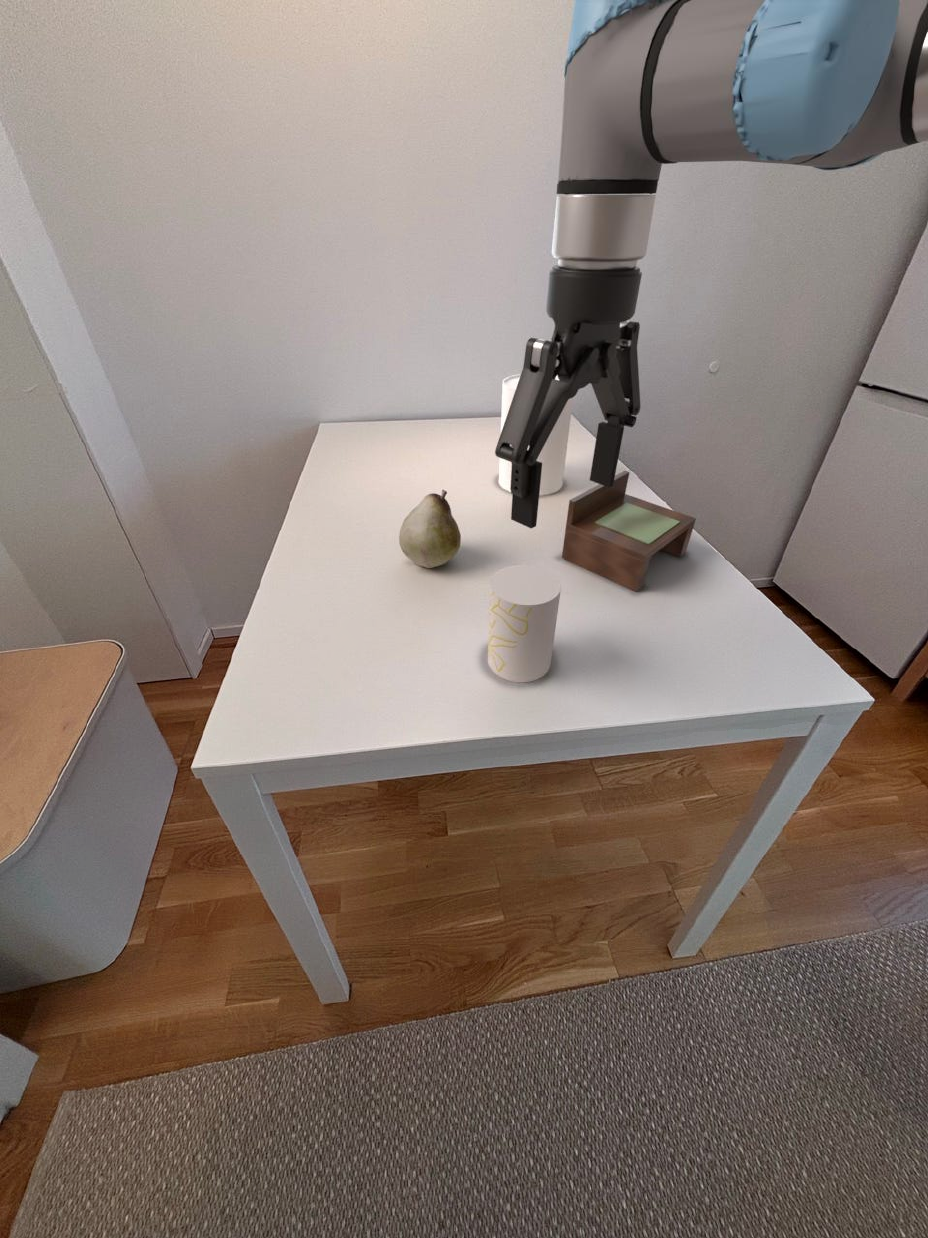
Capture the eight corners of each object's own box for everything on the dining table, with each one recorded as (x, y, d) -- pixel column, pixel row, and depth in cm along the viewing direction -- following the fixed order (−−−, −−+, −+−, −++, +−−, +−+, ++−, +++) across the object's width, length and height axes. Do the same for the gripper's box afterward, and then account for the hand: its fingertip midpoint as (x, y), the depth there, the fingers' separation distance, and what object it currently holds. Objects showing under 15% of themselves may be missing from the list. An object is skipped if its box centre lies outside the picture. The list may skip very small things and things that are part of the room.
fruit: (472, 560, 86) (472, 493, 78) (432, 584, 80) (428, 514, 73) (428, 539, 91) (425, 475, 84) (388, 561, 86) (381, 493, 78)
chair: (685, 552, 87) (703, 495, 81) (636, 592, 79) (651, 531, 72) (613, 525, 95) (624, 470, 88) (561, 558, 86) (569, 499, 80)
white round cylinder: (476, 651, 68) (477, 575, 61) (527, 632, 71) (534, 558, 64) (509, 690, 63) (514, 613, 55) (563, 668, 66) (575, 592, 58)
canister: (536, 464, 117) (544, 369, 105) (575, 486, 108) (589, 384, 96) (486, 477, 112) (488, 379, 99) (524, 501, 103) (531, 396, 90)
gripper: (637, 252, 51) (602, 460, 64) (453, 270, 38) (457, 528, 51) (710, 256, 47) (656, 478, 60) (533, 279, 33) (513, 558, 47)
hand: (564, 501), depth 56 cm, fingers open, 13 cm apart
